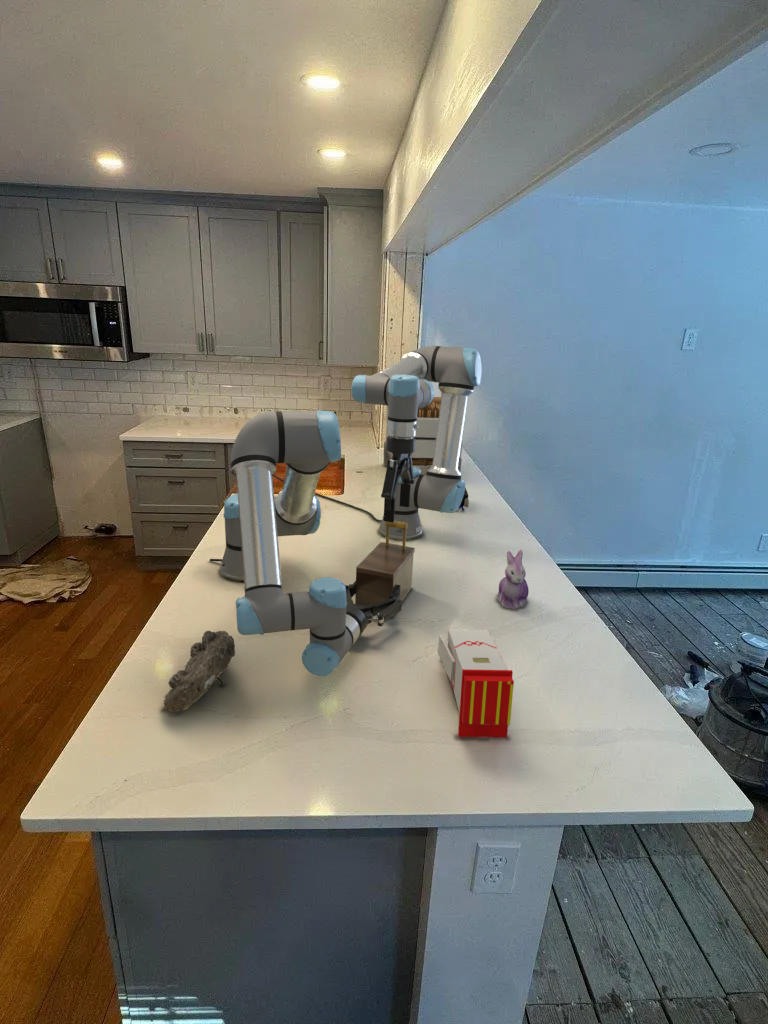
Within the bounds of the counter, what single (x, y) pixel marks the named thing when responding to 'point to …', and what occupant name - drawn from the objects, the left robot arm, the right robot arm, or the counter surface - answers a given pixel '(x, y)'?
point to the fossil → (200, 670)
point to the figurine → (513, 583)
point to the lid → (387, 555)
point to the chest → (382, 585)
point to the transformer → (424, 435)
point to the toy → (478, 682)
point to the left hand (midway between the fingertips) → (379, 585)
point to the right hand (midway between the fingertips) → (396, 513)
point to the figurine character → (464, 500)
